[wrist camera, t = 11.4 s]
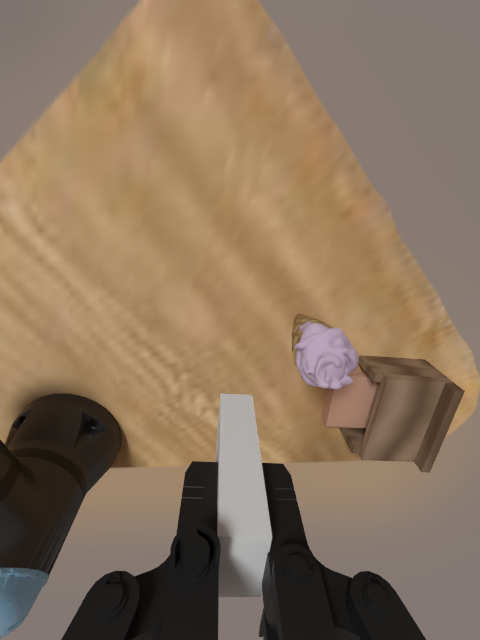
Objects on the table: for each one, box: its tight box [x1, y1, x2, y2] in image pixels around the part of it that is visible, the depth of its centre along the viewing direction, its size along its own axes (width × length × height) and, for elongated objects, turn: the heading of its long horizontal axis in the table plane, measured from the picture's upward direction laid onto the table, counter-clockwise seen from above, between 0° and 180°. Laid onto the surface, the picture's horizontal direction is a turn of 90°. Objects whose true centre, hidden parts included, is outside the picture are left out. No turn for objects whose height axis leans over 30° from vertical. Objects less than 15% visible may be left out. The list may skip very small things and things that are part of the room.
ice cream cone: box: [292, 314, 359, 389], centre depth 35 cm, size 7×6×15 cm
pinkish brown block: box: [322, 369, 381, 428], centre depth 46 cm, size 12×9×2 cm
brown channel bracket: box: [340, 356, 464, 472], centre depth 43 cm, size 10×13×8 cm
